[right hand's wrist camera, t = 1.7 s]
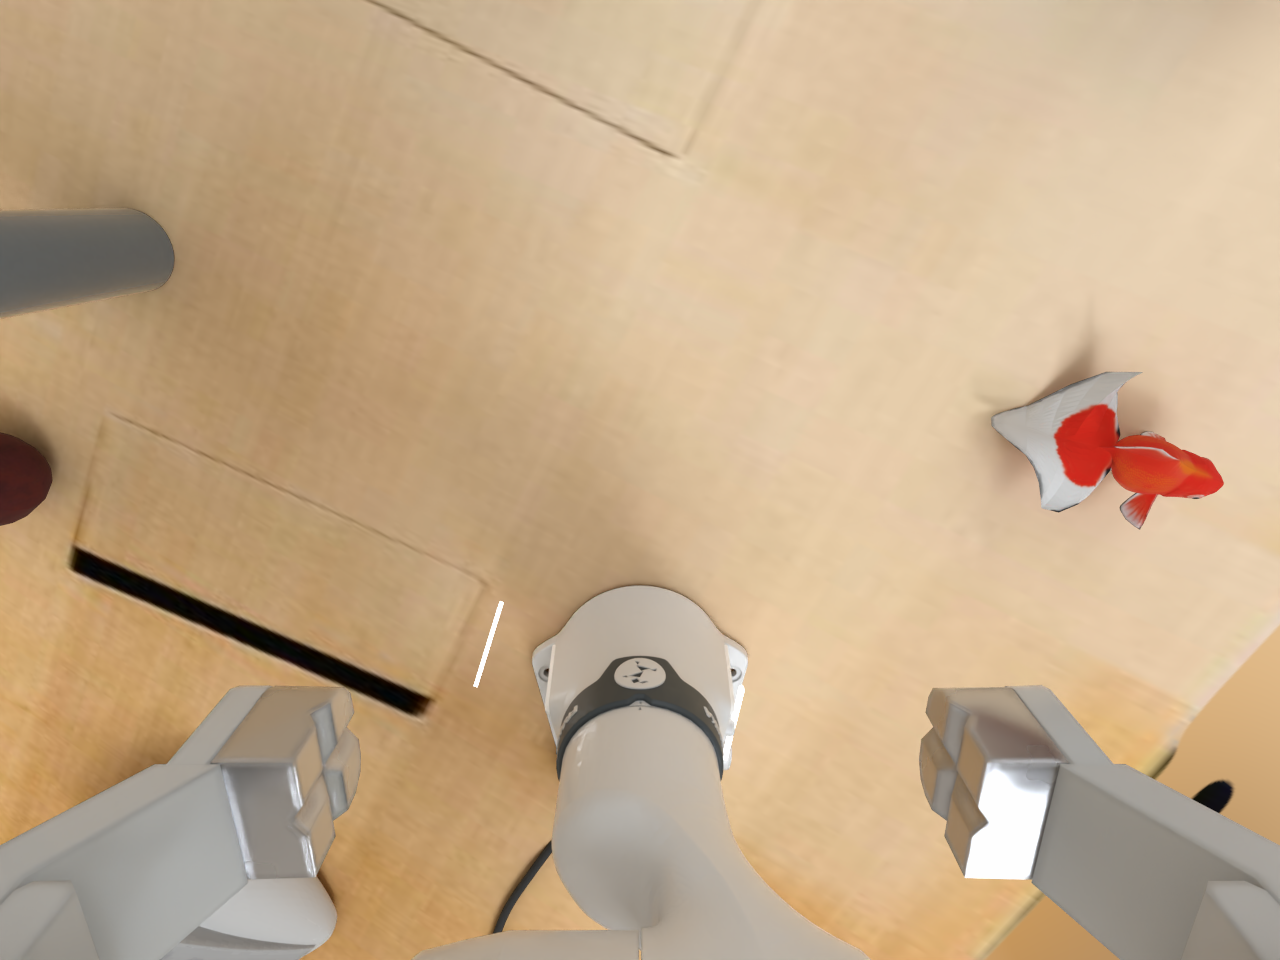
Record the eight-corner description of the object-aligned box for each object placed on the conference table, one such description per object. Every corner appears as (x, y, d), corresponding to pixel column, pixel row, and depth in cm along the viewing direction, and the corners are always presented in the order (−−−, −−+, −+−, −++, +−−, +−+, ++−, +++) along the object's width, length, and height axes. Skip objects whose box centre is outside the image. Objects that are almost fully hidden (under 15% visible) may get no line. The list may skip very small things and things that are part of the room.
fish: (1128, 582, 58) (1198, 575, 49) (948, 470, 62) (979, 443, 53) (1205, 469, 59) (1289, 440, 49) (1021, 365, 63) (1065, 319, 53)
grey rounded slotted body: (126, 925, 77) (15, 1081, 64) (94, 744, 69) (-40, 879, 56) (343, 942, 78) (280, 1100, 64) (337, 766, 70) (263, 903, 57)
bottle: (82, 208, 53) (-315, 214, 31) (164, 207, 53) (-175, 212, 31) (103, 292, 55) (-255, 354, 33) (182, 291, 55) (-124, 352, 33)
